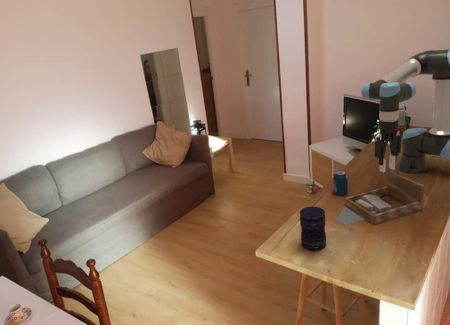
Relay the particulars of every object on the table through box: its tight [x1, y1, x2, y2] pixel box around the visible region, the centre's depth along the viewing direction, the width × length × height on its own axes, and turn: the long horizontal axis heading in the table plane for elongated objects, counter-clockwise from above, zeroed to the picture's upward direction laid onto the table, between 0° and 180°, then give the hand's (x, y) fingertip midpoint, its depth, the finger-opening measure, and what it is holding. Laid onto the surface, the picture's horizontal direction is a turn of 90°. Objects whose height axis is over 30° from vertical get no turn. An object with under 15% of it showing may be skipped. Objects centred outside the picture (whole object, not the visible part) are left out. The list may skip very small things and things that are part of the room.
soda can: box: [332, 169, 349, 197], centre depth 176 cm, size 7×7×12 cm
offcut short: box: [355, 199, 373, 212], centre depth 156 cm, size 3×8×2 cm, turn 20°
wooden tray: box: [343, 170, 425, 226], centre depth 158 cm, size 26×20×12 cm
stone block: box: [362, 195, 392, 214], centre depth 158 cm, size 12×5×10 cm
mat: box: [336, 205, 366, 226], centre depth 158 cm, size 11×16×1 cm
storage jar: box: [299, 206, 327, 252], centre depth 137 cm, size 10×10×15 cm
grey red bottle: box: [397, 101, 406, 147], centre depth 234 cm, size 19×6×30 cm, turn 168°
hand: (387, 169), depth 155 cm, fingers open, 4 cm apart
